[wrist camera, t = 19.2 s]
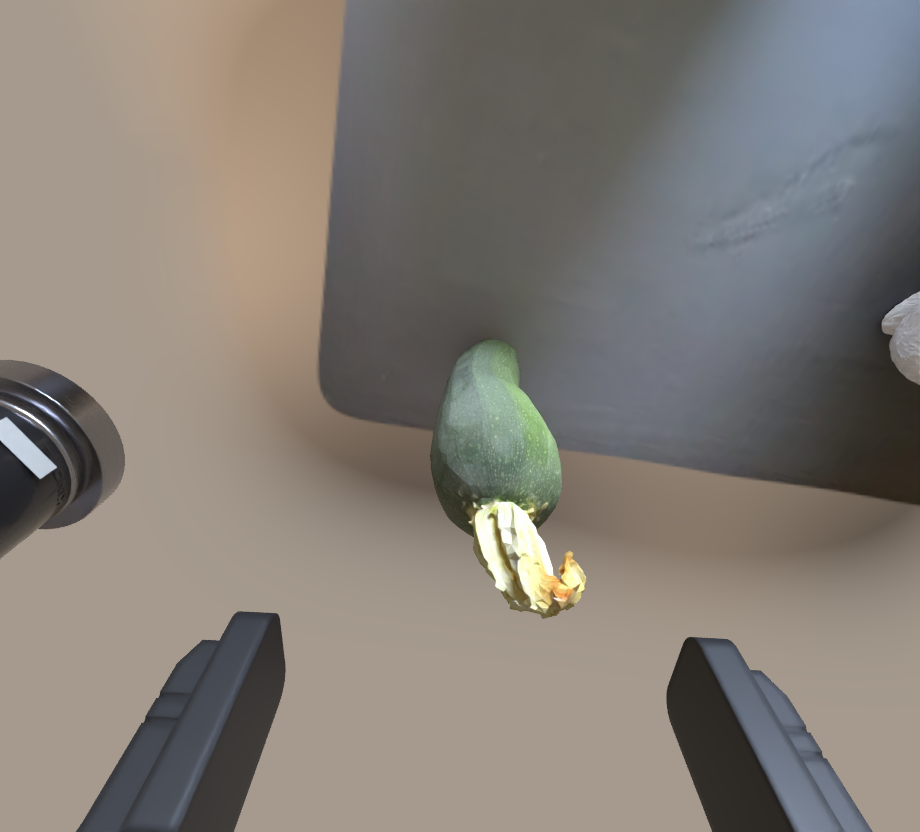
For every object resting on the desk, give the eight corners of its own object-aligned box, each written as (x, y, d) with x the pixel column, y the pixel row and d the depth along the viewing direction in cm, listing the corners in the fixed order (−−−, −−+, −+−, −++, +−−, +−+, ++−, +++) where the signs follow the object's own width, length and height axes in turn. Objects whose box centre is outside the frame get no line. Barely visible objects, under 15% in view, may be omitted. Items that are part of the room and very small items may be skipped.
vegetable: (446, 382, 30) (411, 684, 12) (445, 311, 28) (400, 539, 10) (520, 382, 30) (597, 686, 12) (523, 310, 28) (620, 540, 10)
